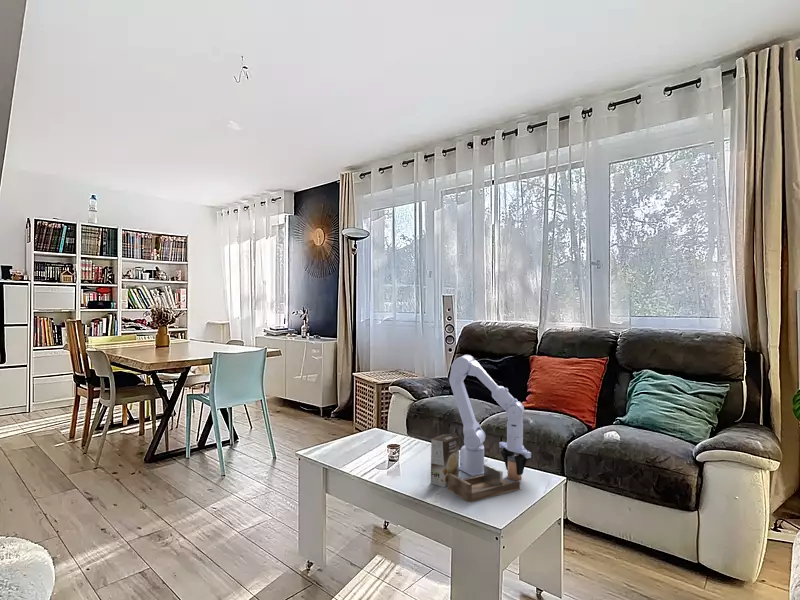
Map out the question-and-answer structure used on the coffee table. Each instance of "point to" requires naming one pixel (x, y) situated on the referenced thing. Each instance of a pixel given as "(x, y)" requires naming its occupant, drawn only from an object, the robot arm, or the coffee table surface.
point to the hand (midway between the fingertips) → (514, 472)
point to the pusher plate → (492, 475)
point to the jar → (512, 468)
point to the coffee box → (444, 458)
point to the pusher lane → (478, 487)
